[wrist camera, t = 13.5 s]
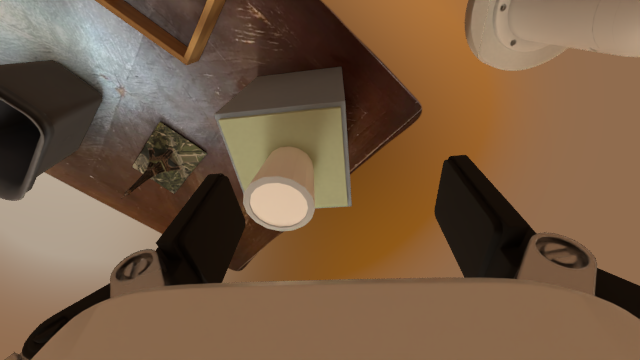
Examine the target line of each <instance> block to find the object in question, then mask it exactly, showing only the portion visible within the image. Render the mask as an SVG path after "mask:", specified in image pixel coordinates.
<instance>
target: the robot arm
mask: <svg viewBox="0 0 640 360" xmlns="http://www.w3.org/2000/svg"><path fill="white" fill-rule="evenodd" d="M500 7H501V9H500ZM492 21H493V30H494V33H495V36H496V38H497V39H498V41H499V42H500V43H501V44H502V45H503V46H504V47H506V48H508V49H510V50H515V51H521V52H527V51H534V50H538V49H541V48H543V47H546V46H548V45H550V44H551V45H557V46H563V47H570V48H576V49H582V50H588V51H594V52H600V53H606V54H612V55H619V56H628V57H640V0H496V3H495V7H494V10H493V20H492ZM510 42H511V43H510ZM435 216H436V219H437V221H438V223H439V225H440V227H441V230H442V232H443V234H444V236H445V238H446V240H447V242H448V244H449V246H450V248H451V250H452V252H453V254H454V257H455V259H456V261H457V262H458V265H459V267H460V269H461V271H462V273H463V275H464V277H465V278H399V279H398V278H397V279H348V280H308V281H270V282H236V283H222V281H223V278H224V276H225V274H226V271H227V269H228V266H229V264H230V262H231V259H232V257H233V254H234V252H235V250H236V247H237V245H238V242H239V240H240V238H241V235H242V233H243V230H244V228H245V219H244V216H243V214H242V211H241V209H240V206H239V203H238V201H237V198H236V196H235V193H234V191H233V188H232V186H231V183H230V181H229V179H228V177H227V176H224V175H223V174H209V175H208V176H207V177H206V178H205V180H204V181H203V182H202V183H201V185H200V186H199V187H198V189H197V190H196V191H195V193H194V194H193V195H192V197H191V198H190V199H189V200H188V202H187V203H186V204H185V206H184V207H183V208H182V210H181V211H180V212H179V213H178V215H177V216H176V217H175V219H174V220H173V221H172V223H171V224H170V225H169V227H168V228H167V229H166V230H165V232H164V233H163V234H162V236H161V237H160V238H159V240H158V241H157V242H156V244H157V245H158V248H157V249H156V251H154V250H152V249H146V250H140V251H138V252H135V253H133V254H131V255H130V256H128V257H126V258H125V259H124V260H123V261H121V262H120V263H119V264H118V265H117V266H116V267H115V268H114V270H113V272H112V273H111V278H110V284H108V285H106V286H104V287H103V288H101V289H99V290H97V291H95V292H94V293H92V294H90V295H89V296H87V297H85V298H83V299H81V300H80V301H78V302H76V303H74V304H73V305H71V306H69V307H67V308H66V309H64V310H62V311H60V312H59V313H57V314H55V315H53V316H52V317H50V318H49V319H47V320H46V321H44V322H43V323H42V324H40V325H39V326H38V327H37V328H36V330H34V332H33V333H32V334H31V335H30V336H29V338H28V339H27V341H26V342H25V343H24V346H23V349H22V353H20V354H17V353H13V354H11V355H10V356H9V357H8V358H6V359H5V360H640V286H639V285H636V284H634V283H631V282H629V281H627V280H625V279H622V278H620V277H617V276H615V275H613V274H610V273H608V272H605V271H603V270H601V269H598V268H597V262H596V258H595V257H594V255H593V254H592V253H591V252H590V251H589V250H588V249H587V248H586V247H585V246H583V245H582V244H580V243H578V242H576V241H575V240H573V239H570V238H568V237H566V236H562V235H559V234H555V233H538V234H536V233H535V232H534V230H533V229H532V228H531V227H530V226H529V225H528V223H527V222H526V221H525V220H524V219H523V218H522V217H521V216H520V214H519V213H518V212H517V211H516V210H515V209H514V208H513V207H512V205H511V204H510V203H509V202H508V201H507V200H506V199H505V198H504V197H503V195H502V194H501V193H500V192H499V191H498V190H497V189H496V188H495V187H494V185H493V184H492V183H491V182H490V181H489V180H488V179H487V178H486V176H485V175H484V174H483V173H482V172H481V171H480V170H479V169H478V168H477V166H476V165H475V164H474V163H473V162H472V161H471V160H470V159H469V158H468V156H466V155H459V156H450V157H449V159H448V160H445V161H444V163H443V168H442V174H441V178H440V184H439V189H438V194H437V199H436V205H435Z"/></svg>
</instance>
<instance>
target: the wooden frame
mask: <svg viewBox="0 0 640 360" xmlns="http://www.w3.org/2000/svg"><path fill="white" fill-rule="evenodd" d="M95 1H97V2H98V3H100V4H101V5H102V6H104V7H105V8H107V9H108V10H109V11H111V12H112V13H114V14H115V15H116V16H118V17H119V18H121V19H122V20H124V21H125V22H126V23H128V24H129V25H131V26H132V27H133V28H135V29H136V30H138V31H139V32H140V33H142V34H143V35H145V36H146V37H148V38H149V39H150V40H152V41H153V42H155V43H156V44H157V45H159V46H160V47H162V48H163V49H164V50H166V51H167V52H169V53H170V54H171V55H173V56H174V57H176V58H177V59H179V60H180V61H181V62H183V63H184V64H186V65H189V64H191V63H194V62H197V61H199V59H200V57H201V55H202V52H203V50H204V48H205V46H206V43H207V41H208V39H209V37H210V35H211V32H212V30H213V28H214V26H215V23H216V21H217V19H218V17H219V14H220V12H221V10H222V8H223V6H224V3H225V1H226V0H207V2H206V4H205V7H204V9H203V12H202V14H201V16H200V19H199V21H198V24H197V26H196V29H195V31H194V34H193V36H192V38H191V41H190V43H189V46H188V47H186V46H185V45H184V44H182V43H181V42H180V41H178V40H177V39H176V38H174V37H173V36H171V35H170V34H169V33H167V32H166V31H165V30H163V29H162V28H161V27H159V26H158V25H157V24H155V23H154V22H152V21H151V20H150V19H148V18H147V17H146V16H144V15H143V14H142V13H140V12H139V11H137V10H136V9H135V8H133V7H132V6H131V5H129V4H128V3H127V2H125V1H124V0H95Z"/></svg>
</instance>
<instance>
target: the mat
mask: <svg viewBox="0 0 640 360" xmlns="http://www.w3.org/2000/svg"><path fill="white" fill-rule="evenodd" d="M218 121H219V123H220V126H221V129H222V132H223V134H224V137H225V140H226V142H227V145H228V148H229V151H230V153H231V156H232V159H233V162H234V164H235V167H236V170H237V172H238V175H239V178H240V181H241V183H242V186H243V189H244V191H245V190H246V189H247V188H248V186H249V185H250V183H251V182H252V180H253V179H254V177H255V176H256V174H257V173H258V171H259V170H260V168H261V167H262V165H263V164H264V162H265V161H266V159H267V158H268V157H269V155H270V154H271V153H272V151H274V150H276V149H278V148H280V147H288V146H291V147H294V148H298V149H300V150H302V151H303V152H305V153H306V154H308V156H309V157H310V159H311V160H312V163H313V168H314V194H315V208H321V207H339V206H348V201H347V187H346V173H345V160H344V146H343V132H342V118H341V107H340V106H339V107H330V108H320V109H310V110H300V111H290V112H280V113H270V114H261V115H251V116H241V117H231V118H221V119H219V120H218Z"/></svg>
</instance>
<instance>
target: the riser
mask: <svg viewBox="0 0 640 360" xmlns="http://www.w3.org/2000/svg"><path fill="white" fill-rule="evenodd" d="M339 106H340V107H341V118H342V132H343V146H344V160H345V173H346V187H347V201H348V206H351V204H352V203H351V188H350V171H349V154H348V138H347V122H346V105H345V94H344V85H343V76H342V67H334V68H325V69H317V70H309V71H300V72H292V73H283V74H275V75H267V76H258V77H257V78H255V79H254V80H253V81H252V82H251V83H250V84H249V85H247V86H246V87H245V88H244V89H243V90H242V91H241V92H239V93H238V94H237V95H236V96H235V97H234V98H232V99H231V100H230V101H229V102H228V103H227V104H226V105H224V106H223V107H222V108H221V109H220V110H219V111H218V112H216V113H215V114H214V116H215V118H216V121H217V124H218V126H219V129H220V132H221V134H222V137H223V140H224V142H225V145H226V148H227V151H228V153H229V156H230V159H231V161H232V164H233V167H234V169H235V172H236V175H237V177H238V180H239V183H240V185H241V188H242V191H243V194H244V192H245V191H244V189H243V186H242V183H241V181H240V178H239V175H238V172H237V170H236V167H235V164H234V162H233V159H232V156H231V153H230V151H229V148H228V145H227V142H226V140H225V137H224V134H223V132H222V129H221V126H220V123H219V121H218V120H219V119H221V118H231V117H241V116H251V115H261V114H270V113H280V112H290V111H300V110H310V109H320V108H330V107H339ZM339 207H346V206H339ZM321 208H328V207H321Z"/></svg>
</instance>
